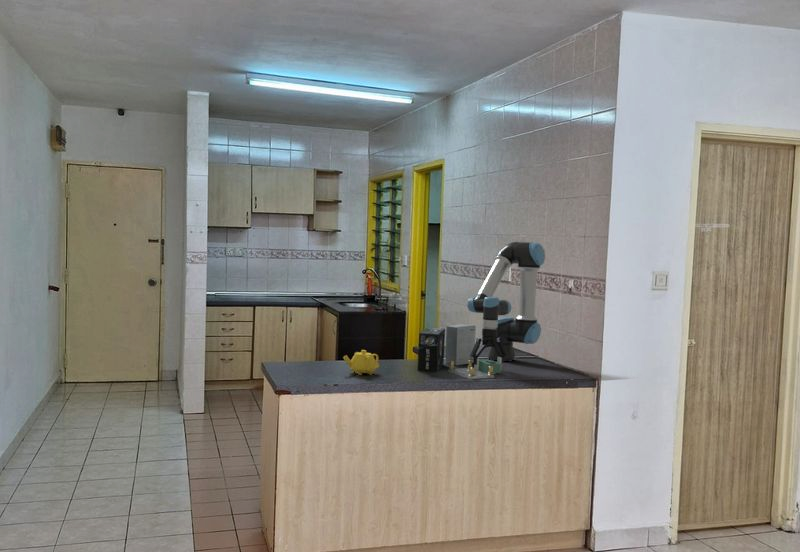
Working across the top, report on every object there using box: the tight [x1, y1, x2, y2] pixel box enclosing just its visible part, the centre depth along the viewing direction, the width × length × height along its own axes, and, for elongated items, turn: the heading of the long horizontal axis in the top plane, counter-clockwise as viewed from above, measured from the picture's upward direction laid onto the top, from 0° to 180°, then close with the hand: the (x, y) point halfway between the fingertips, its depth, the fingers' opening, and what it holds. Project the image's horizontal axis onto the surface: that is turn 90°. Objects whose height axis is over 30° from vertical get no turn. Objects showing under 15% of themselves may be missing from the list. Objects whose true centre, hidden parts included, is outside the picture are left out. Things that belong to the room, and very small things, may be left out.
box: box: [417, 327, 446, 373], centre depth 364 cm, size 23×10×19 cm, turn 168°
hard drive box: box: [444, 323, 477, 367], centre depth 382 cm, size 16×8×20 cm, turn 134°
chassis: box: [447, 360, 495, 380], centre depth 351 cm, size 13×20×5 cm, turn 27°
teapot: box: [342, 349, 380, 376], centre depth 341 cm, size 14×14×11 cm
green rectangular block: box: [479, 358, 502, 375], centre depth 363 cm, size 7×14×6 cm, turn 19°
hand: (487, 370), depth 362 cm, fingers open, 13 cm apart
